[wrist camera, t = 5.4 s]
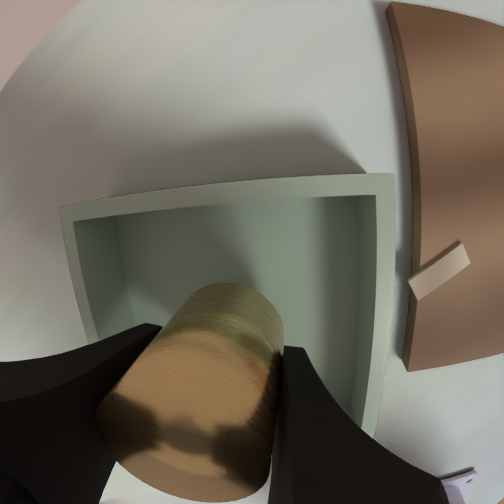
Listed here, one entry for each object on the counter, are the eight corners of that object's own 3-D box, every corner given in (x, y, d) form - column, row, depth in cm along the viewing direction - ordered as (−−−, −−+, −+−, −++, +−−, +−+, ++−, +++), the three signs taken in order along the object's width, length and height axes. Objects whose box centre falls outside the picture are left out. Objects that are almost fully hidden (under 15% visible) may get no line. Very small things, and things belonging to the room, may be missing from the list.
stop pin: (283, 379, 12) (269, 509, 6) (184, 372, 12) (123, 483, 6) (284, 283, 11) (270, 400, 5) (172, 280, 11) (74, 371, 5)
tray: (359, 405, 14) (369, 454, 11) (152, 401, 16) (127, 441, 12) (367, 173, 12) (394, 173, 8) (107, 197, 13) (59, 207, 10)
